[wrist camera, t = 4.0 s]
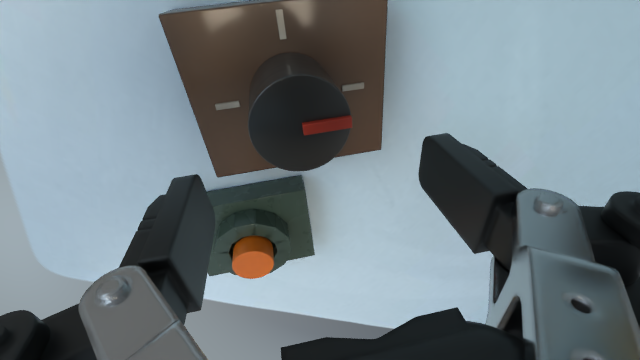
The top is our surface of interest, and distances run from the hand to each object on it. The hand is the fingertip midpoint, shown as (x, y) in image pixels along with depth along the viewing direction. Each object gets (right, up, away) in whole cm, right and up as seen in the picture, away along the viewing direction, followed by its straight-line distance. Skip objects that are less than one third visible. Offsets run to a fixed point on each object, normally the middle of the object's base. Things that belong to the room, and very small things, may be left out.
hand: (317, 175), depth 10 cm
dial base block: (-2, +7, +10) cm, 12 cm away
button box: (-6, -4, +16) cm, 18 cm away
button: (-5, -6, +13) cm, 16 cm away
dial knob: (-2, +5, +7) cm, 9 cm away
